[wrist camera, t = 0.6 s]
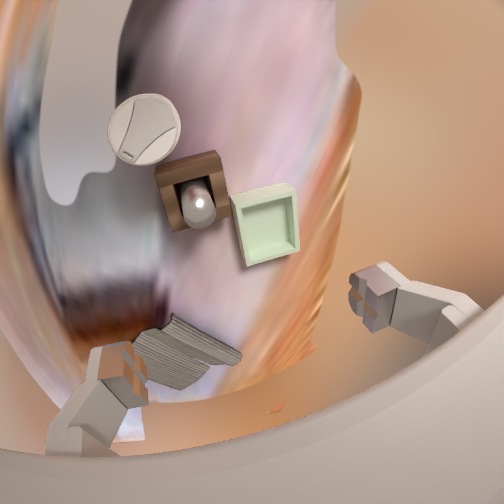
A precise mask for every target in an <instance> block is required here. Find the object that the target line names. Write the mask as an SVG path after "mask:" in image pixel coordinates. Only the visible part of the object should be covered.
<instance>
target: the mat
mask: <svg viewBox="0 0 504 504" xmlns="http://www.w3.org/2000/svg"><path fill="white" fill-rule="evenodd" d="M171 318H172V319H171V321H170V322H169V323H168V324H167V325H166V326H165V327H164V328H162V329H159V328H151V329H146V330H145V331H143V332H141V333H139V335H138V336H137V338H136V339H135V340H134V341H133V342H132V345H133V346H134V347H135V354H137V355H139V356H140V357H141V358H142V360H143V361H144V364H145V366H146V370H147V378H148V379H150V380H152V381H155V382H157V383H160V384H163V385H166V386H169V387H171V388H174V389H177V390H182V389H184V388H186V387H188V386H189V385H191V384H193V383H194V382H196V381H197V380H199V379H200V378H201V377H202V376H203V375H204V374H205V372H206V371H207V370H208V369H209V368H210V366H208V365H205V364H204V363H202V362H200V361H198V360H201V361H203V362H205V363H208V364H211V365H220V364H228V365H231V366H233V365H235V364H237V363H238V362H239V361H241V358H242V354H241V353H240V352H239V351H237V350H235V349H234V348H232V347H230V346H228V345H226V344H225V343H223V342H221V341H219V340H217V339H215V338H213V337H211V336H209V335H208V334H206V333H204V332H202V331H200V330H199V329H197V328H195V327H194V326H192V325H190V324H188V323H186V322H185V321H183V320H181V319H180V318H178V317H176V316H175V315H174V314H173V313H172V314H171ZM195 358H196V359H198V360H196V359H195Z"/></svg>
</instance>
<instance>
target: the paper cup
mask: <svg viewBox="0 0 504 504" xmlns="http://www.w3.org/2000/svg"><path fill="white" fill-rule="evenodd" d="M180 132H181V122H180V117H179V115H178V112H177V110H176V109H175V107H174V105H173V104H172V102H171V101H170V100H169V99H168V98H166V97H164V96H162V95H160V94H156V93H153V94H139V95H135V96H133V97H130V98H128V99H127V100H125V101H124V102H122V103H121V104H120V105H119V106H118V107H117V108H116V110H115V111H114V112H113V114H112V116H111V118H110V121H109V125H108V140H109V143H110V146H111V148H112V150H113V151H114V153H115V154H116V155H117V156H118V157H119V158H120V159H122V160H123V161H125V162H127V163H129V164H133V165H138V166H145V165H151V164H154V163H157V162H159V161H161V160H162V159H164V158H165V157H166V156H168V155H169V154H170V153H171V152H172V150H173V149H174V148H175V146H176V144H177V142H178V140H179V137H180Z"/></svg>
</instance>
